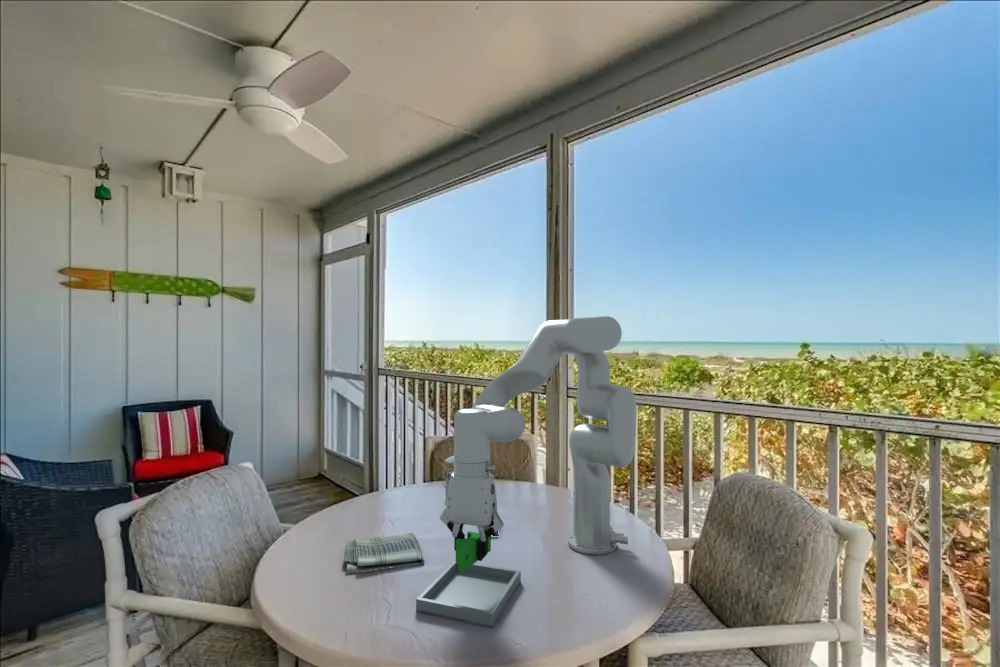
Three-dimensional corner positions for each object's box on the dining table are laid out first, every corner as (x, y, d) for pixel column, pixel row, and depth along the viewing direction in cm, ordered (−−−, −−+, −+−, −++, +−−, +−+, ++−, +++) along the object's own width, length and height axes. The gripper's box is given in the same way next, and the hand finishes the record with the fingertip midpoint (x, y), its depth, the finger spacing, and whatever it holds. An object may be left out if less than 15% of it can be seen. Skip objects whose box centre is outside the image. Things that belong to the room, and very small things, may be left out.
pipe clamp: (475, 547, 103) (476, 526, 103) (490, 551, 101) (491, 529, 101) (447, 567, 93) (447, 544, 93) (463, 572, 91) (463, 548, 91)
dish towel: (415, 538, 128) (415, 526, 129) (424, 566, 111) (425, 553, 111) (344, 546, 123) (344, 534, 123) (343, 578, 106) (343, 564, 106)
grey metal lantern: (476, 499, 160) (476, 426, 161) (456, 509, 150) (456, 431, 151) (454, 494, 165) (454, 423, 166) (432, 503, 155) (433, 428, 156)
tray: (520, 582, 103) (520, 570, 103) (492, 628, 86) (492, 614, 86) (455, 570, 108) (455, 559, 108) (416, 612, 91) (416, 599, 91)
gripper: (515, 467, 99) (514, 555, 98) (443, 461, 104) (442, 543, 104) (503, 476, 92) (503, 570, 91) (427, 469, 97) (426, 557, 96)
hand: (471, 555), depth 97 cm, fingers closed on pipe clamp, 4 cm apart
